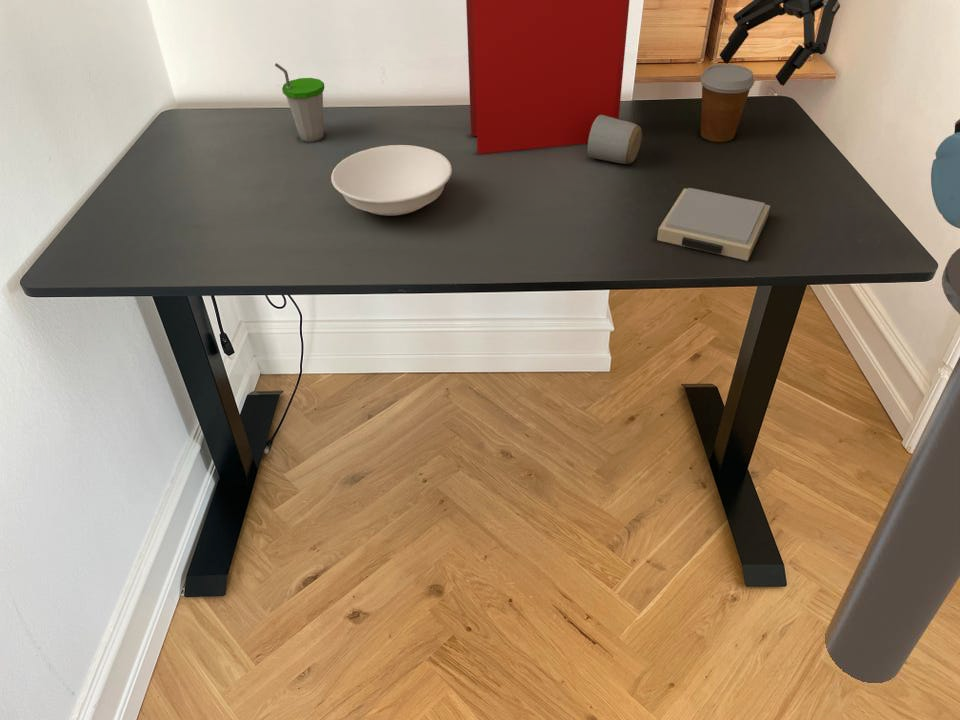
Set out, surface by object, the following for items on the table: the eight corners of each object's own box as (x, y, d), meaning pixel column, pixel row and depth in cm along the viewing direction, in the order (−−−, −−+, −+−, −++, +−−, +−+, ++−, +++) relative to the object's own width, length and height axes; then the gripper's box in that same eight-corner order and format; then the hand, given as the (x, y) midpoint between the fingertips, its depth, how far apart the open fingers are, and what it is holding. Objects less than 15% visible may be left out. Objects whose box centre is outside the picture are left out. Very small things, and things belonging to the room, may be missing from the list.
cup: (338, 130, 156) (326, 54, 146) (322, 147, 150) (308, 69, 140) (302, 127, 158) (288, 51, 148) (285, 143, 152) (269, 66, 142)
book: (477, 153, 146) (471, -32, 125) (471, 135, 152) (464, -44, 131) (618, 140, 149) (635, -44, 128) (606, 122, 155) (621, -56, 134)
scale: (767, 217, 126) (771, 201, 124) (746, 263, 116) (750, 246, 114) (682, 199, 131) (684, 184, 129) (655, 242, 121) (657, 225, 119)
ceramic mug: (628, 172, 139) (633, 131, 134) (585, 164, 142) (588, 123, 137) (646, 148, 146) (651, 108, 141) (604, 141, 149) (607, 102, 144)
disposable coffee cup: (682, 137, 149) (692, 74, 141) (706, 120, 155) (717, 59, 147) (728, 150, 144) (740, 86, 137) (751, 133, 150) (765, 70, 142)
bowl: (438, 170, 141) (436, 137, 137) (467, 224, 127) (465, 189, 123) (329, 187, 138) (323, 154, 134) (345, 245, 123) (339, 209, 119)
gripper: (891, -3, 135) (811, 102, 139) (778, -33, 152) (709, 61, 156) (881, -31, 130) (798, 79, 134) (764, -59, 146) (693, 40, 150)
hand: (750, 70), depth 145 cm, fingers open, 13 cm apart
